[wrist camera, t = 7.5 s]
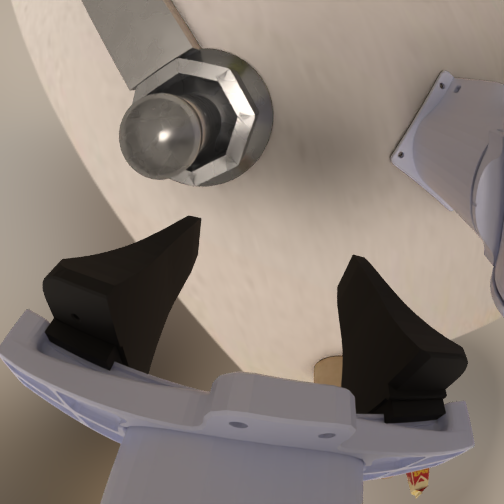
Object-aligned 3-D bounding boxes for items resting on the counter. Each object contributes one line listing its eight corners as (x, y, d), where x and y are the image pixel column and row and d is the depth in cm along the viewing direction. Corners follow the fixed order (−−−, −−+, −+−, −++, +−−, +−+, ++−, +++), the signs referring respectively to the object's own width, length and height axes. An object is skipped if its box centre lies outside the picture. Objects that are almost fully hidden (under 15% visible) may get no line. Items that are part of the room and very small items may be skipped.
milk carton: (421, 455, 69) (424, 496, 52) (401, 460, 70) (403, 501, 54) (430, 449, 64) (434, 493, 47) (409, 454, 65) (412, 499, 49)
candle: (306, 371, 34) (303, 438, 26) (329, 351, 31) (332, 424, 23) (337, 380, 35) (339, 442, 27) (362, 361, 32) (369, 429, 24)
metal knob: (219, 85, 16) (191, 84, 12) (229, 150, 19) (206, 173, 14) (156, 99, 17) (111, 107, 12) (168, 158, 20) (130, 185, 15)
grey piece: (63, -3, 11) (43, -6, 9) (155, -75, 7) (140, -86, 5) (177, 204, 23) (163, 220, 20) (298, 150, 19) (299, 160, 17)
